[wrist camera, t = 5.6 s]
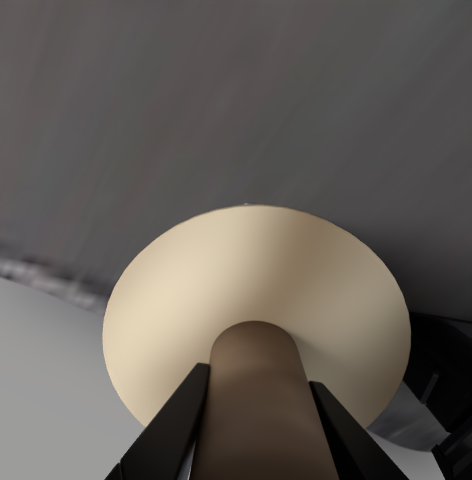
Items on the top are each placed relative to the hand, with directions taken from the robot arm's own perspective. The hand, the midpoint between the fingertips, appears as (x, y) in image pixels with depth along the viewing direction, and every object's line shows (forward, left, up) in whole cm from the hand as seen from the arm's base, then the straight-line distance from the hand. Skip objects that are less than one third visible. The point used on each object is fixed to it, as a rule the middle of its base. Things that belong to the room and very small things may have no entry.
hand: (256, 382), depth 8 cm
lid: (0, 0, -2) cm, 2 cm away
